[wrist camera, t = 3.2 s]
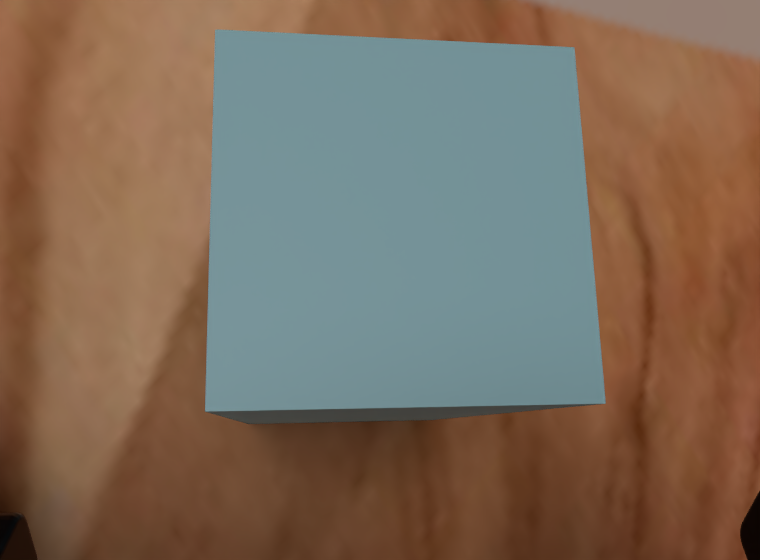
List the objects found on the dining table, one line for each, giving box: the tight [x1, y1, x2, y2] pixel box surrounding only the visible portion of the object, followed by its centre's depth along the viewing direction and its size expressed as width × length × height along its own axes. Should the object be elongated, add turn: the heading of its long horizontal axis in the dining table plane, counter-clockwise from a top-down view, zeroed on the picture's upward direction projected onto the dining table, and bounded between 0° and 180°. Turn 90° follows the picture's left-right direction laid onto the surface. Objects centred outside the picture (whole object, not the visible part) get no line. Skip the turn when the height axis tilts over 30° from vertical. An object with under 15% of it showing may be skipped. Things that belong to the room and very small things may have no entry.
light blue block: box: [205, 30, 606, 424], centre depth 15 cm, size 5×5×11 cm
